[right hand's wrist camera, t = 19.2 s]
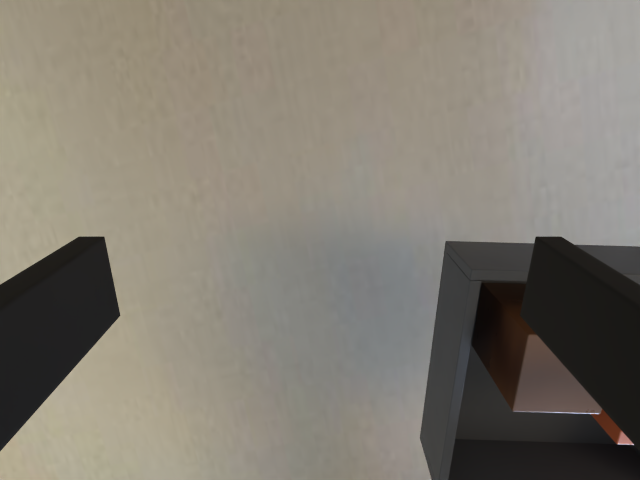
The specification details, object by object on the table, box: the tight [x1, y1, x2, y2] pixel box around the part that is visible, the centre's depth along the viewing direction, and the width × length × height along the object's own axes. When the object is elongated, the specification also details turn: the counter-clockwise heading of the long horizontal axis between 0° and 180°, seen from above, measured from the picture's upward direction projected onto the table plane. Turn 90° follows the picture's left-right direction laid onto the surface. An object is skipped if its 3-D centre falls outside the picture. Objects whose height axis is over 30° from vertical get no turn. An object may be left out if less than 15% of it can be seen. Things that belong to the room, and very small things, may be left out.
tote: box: [420, 241, 640, 480], centre depth 26 cm, size 27×15×6 cm, turn 178°
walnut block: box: [472, 283, 602, 414], centre depth 22 cm, size 4×4×6 cm
